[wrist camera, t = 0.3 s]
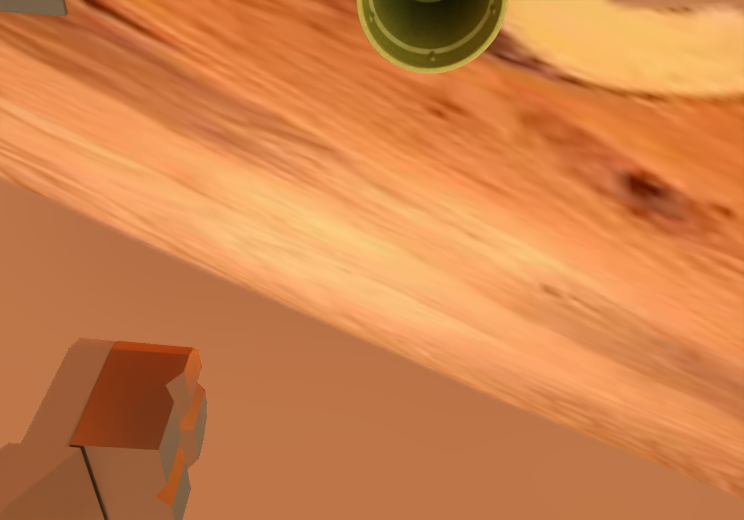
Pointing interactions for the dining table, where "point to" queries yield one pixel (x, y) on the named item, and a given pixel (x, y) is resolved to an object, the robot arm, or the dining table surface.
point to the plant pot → (431, 31)
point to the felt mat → (34, 7)
